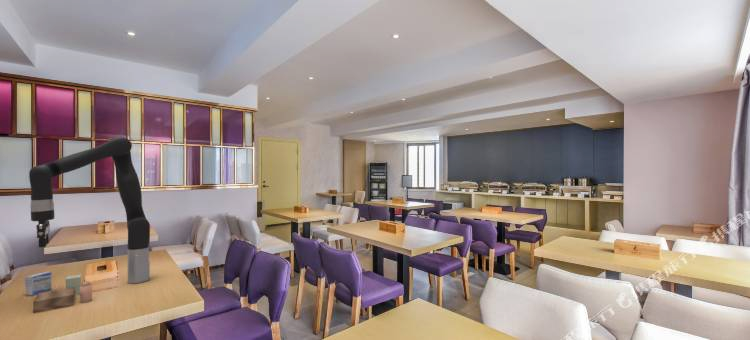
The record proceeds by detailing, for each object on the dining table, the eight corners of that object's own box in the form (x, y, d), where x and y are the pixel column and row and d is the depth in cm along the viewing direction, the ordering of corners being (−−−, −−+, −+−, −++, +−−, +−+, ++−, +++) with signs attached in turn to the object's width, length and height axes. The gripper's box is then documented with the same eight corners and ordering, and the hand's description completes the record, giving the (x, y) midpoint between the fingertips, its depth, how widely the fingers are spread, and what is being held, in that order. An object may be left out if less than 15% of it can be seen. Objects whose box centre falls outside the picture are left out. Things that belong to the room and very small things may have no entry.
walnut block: (75, 297, 151) (75, 287, 151) (73, 306, 142) (73, 294, 142) (38, 304, 144) (38, 293, 144) (33, 314, 134) (33, 301, 134)
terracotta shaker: (92, 298, 150) (92, 279, 150) (91, 301, 146) (91, 281, 146) (80, 300, 147) (80, 280, 147) (79, 303, 144) (79, 283, 144)
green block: (80, 291, 159) (80, 274, 159) (80, 294, 155) (80, 277, 155) (66, 293, 156) (66, 276, 156) (65, 296, 152) (65, 279, 152)
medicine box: (32, 295, 153) (32, 277, 153) (24, 295, 154) (24, 276, 154) (51, 289, 161) (51, 271, 161) (44, 289, 162) (44, 271, 162)
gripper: (52, 210, 147) (53, 246, 147) (56, 207, 158) (57, 241, 158) (27, 212, 142) (29, 249, 142) (33, 209, 153) (35, 244, 153)
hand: (44, 245), depth 150 cm, fingers open, 8 cm apart
